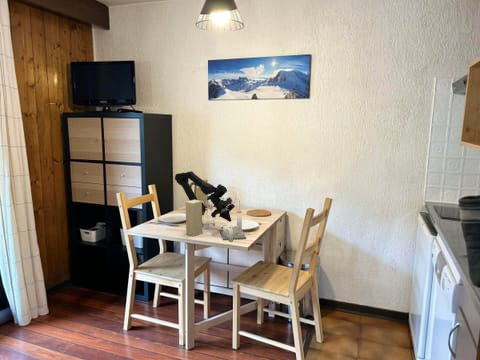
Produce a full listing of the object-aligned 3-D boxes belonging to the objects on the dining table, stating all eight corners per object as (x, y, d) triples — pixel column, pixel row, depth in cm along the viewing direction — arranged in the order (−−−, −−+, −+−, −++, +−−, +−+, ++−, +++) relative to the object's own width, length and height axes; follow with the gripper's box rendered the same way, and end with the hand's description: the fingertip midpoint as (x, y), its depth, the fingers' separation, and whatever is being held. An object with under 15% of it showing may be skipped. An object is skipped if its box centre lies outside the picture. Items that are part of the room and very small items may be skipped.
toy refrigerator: (194, 230, 225) (193, 199, 221) (202, 233, 220) (202, 201, 217) (185, 234, 219) (184, 201, 215) (193, 236, 214) (192, 203, 210)
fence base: (222, 236, 214) (222, 225, 213) (227, 235, 216) (227, 224, 214) (228, 242, 205) (228, 229, 204) (234, 241, 207) (234, 229, 205)
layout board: (219, 231, 224) (219, 229, 224) (241, 229, 226) (241, 228, 226) (223, 240, 208) (223, 238, 208) (246, 238, 210) (246, 236, 210)
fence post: (230, 235, 213) (230, 212, 210) (228, 233, 215) (228, 210, 213) (242, 233, 216) (242, 210, 214) (240, 231, 219) (240, 209, 216)
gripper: (214, 197, 212) (229, 218, 208) (232, 191, 227) (246, 210, 223) (204, 207, 218) (218, 227, 214) (223, 201, 233) (236, 220, 229)
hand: (230, 221), depth 219 cm, fingers closed
